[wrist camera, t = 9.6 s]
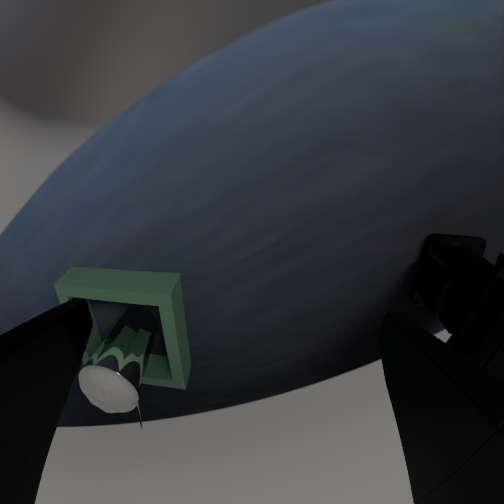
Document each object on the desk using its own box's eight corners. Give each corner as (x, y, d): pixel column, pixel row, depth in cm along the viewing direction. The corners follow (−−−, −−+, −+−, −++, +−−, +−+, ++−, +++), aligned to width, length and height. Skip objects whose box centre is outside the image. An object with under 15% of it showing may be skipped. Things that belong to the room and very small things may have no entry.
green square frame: (180, 273, 23) (170, 295, 20) (191, 365, 27) (185, 389, 24) (71, 266, 23) (54, 284, 20) (98, 352, 27) (87, 372, 24)
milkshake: (168, 350, 26) (139, 441, 17) (115, 330, 26) (71, 413, 17) (178, 314, 24) (145, 411, 15) (119, 292, 24) (64, 378, 15)
